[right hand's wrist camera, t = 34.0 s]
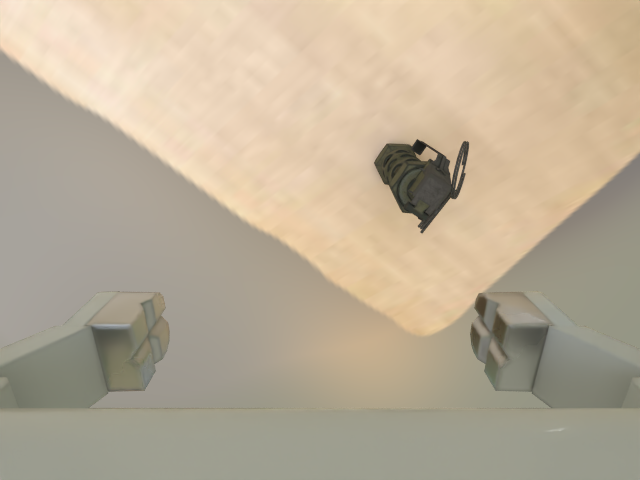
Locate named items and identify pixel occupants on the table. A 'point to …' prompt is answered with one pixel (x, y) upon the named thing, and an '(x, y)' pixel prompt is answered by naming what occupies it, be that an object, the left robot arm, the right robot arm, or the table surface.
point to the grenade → (419, 179)
